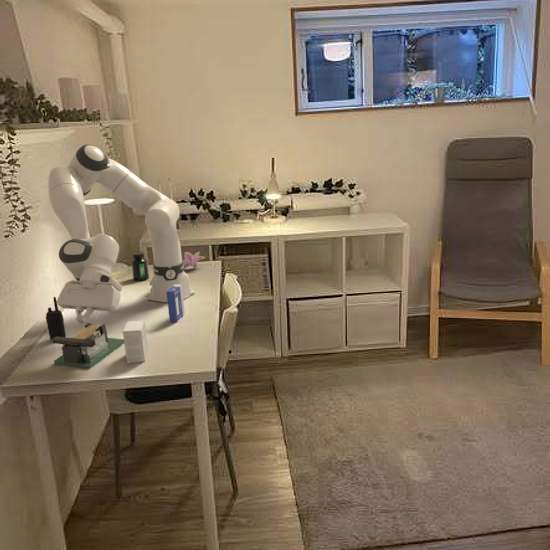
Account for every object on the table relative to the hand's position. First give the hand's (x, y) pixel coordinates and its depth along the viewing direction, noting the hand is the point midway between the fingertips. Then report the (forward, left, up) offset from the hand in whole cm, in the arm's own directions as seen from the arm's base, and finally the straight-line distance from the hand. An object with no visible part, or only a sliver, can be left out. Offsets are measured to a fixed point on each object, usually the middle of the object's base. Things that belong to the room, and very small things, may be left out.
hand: (80, 321), depth 173 cm
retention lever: (-7, +4, -5) cm, 9 cm away
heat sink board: (-3, +1, -12) cm, 13 cm away
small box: (+5, +15, -12) cm, 21 cm away
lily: (-82, +46, -13) cm, 95 cm away
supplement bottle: (-78, +22, -12) cm, 82 cm away
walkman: (-23, +31, -12) cm, 41 cm away
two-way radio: (-20, -10, -12) cm, 25 cm away
